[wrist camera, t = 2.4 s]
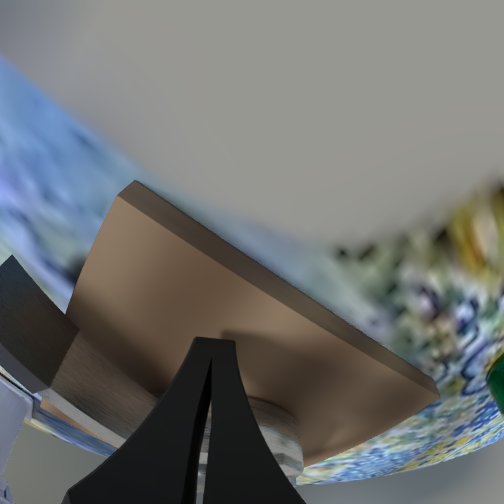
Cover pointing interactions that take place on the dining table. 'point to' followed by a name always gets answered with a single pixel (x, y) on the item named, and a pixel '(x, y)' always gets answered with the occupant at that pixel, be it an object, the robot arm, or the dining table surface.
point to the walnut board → (233, 327)
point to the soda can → (497, 383)
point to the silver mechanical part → (101, 376)
